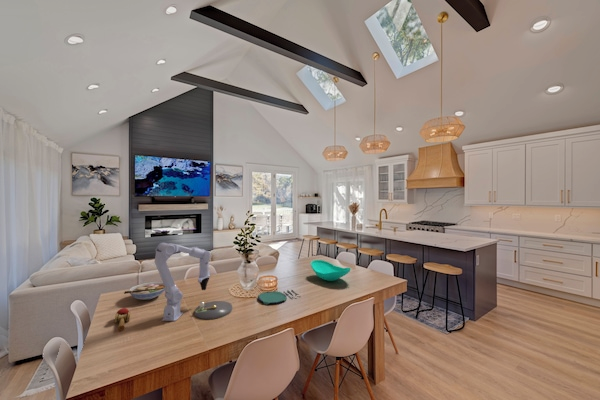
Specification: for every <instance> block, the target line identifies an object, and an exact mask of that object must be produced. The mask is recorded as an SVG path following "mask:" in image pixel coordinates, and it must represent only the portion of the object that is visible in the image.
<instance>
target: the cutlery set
mask: <svg viewBox="0 0 600 400" xmlns="http://www.w3.org/2000/svg"><path fill="white" fill-rule="evenodd" d="M286 291H287V292H288V293H287V292H285V294H284V292H282V291H276V290H272V291H265V292H261V293H259V294H258V295H257V298H258V300H259V302H262V303H263V304H264V305H265V306H268V305H269V304H279V303H282V302H286V301H287V299H288V298H289V297H290V298H289V299H291V300H293V297H294V296H293V295H294V294H295V295H296V294H297V295H300V294H299V293H297V292H296V291H295V290H293V289H290V290H288V289H287V290H286ZM292 291H293V292H294V293H293V292H292ZM291 292H292V293H291ZM289 294H290V295H289ZM291 294H292V295H291ZM287 295H288V296H289V297H288V296H287ZM292 296H293V297H292Z"/></svg>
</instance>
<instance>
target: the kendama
mask: <svg viewBox="0 0 600 400" xmlns="http://www.w3.org/2000/svg"><path fill="white" fill-rule="evenodd" d="M130 319H131V311H129V309H128V308H126V307H125V308H124V307H122V308H120V309H119V310H117V312H116V313H115V316H114V323H117V322H119V324H118V327H117V331H118V332H122V331H124V330H125V329H126V328H125V327H126V325H125V322H130Z"/></svg>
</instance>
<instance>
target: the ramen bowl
mask: <svg viewBox="0 0 600 400" xmlns="http://www.w3.org/2000/svg"><path fill="white" fill-rule="evenodd" d="M123 293H124V294H130V295H131V296H132V298H134V299H136V300H143V301H149V300H153V299H156V298H157V297H159V296H160V295H162V294H163V293H165V286H164V283H163V281H161V282H160V281H151V282H145V283H140V284H137V285H134V286H132V287H130V288H129V290H127V291H125V290H124V292H123ZM124 294H123V295H124Z"/></svg>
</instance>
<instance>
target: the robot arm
mask: <svg viewBox="0 0 600 400" xmlns="http://www.w3.org/2000/svg"><path fill="white" fill-rule="evenodd" d="M154 250H155V257H154V265H155V266H156V268H157V272H158V274H159V275H160V278H161V282H163V283H164V286H165V290H164V297H165V298H166V305H165V307H164V308H163V318H162V319H161V321H162V322H165V321H166V322H167V321H168V322H169V321H170V322H176V321H177V320H178V319H179V318H180V317H181V316H182V315H183V314H184V312H181V300H182V299H183V297H184V293H183V292H182V291H180V289H179V288H178V286H177V285H176V283H175V281H174V280H175V279H174V278H173V276H172V273H171V270H170V268H169V265H168V263H167V262H168V260H169V258H171V257H172V256H173V255H174V254H176V253H177V252H181V253H185V254H188V256H189V257H192V258H195V259H199V273H198V279H197V283H199V285H200V288H201V290H202V291H206V289H207V286H208V283H209V280H210V277H211V275H210V274H211V273H210V259H211V257H212V254H211V252H210V251H209V250H206V249H204V248H199V247H198V246H192V247H186V246H183V245H182V244H181V245H180V244H176V243H170V242H168V243H167V242H163V241H162V242H159V244H158V245H157V246H156V248H155V249H154Z"/></svg>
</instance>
